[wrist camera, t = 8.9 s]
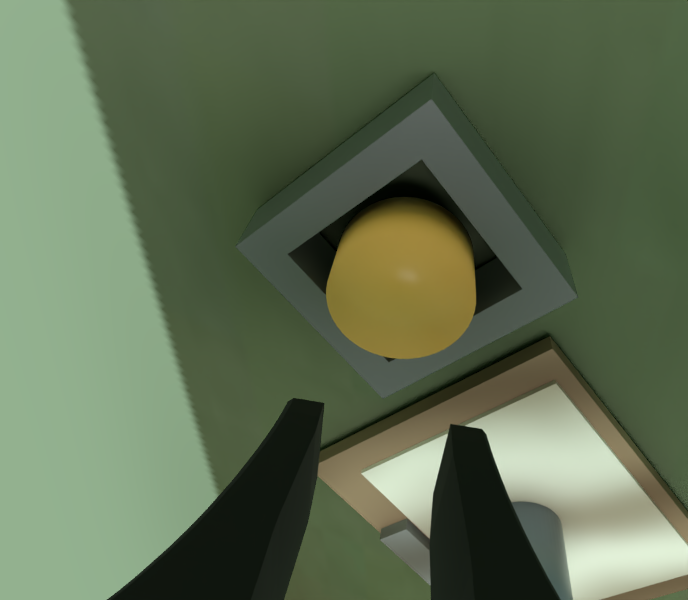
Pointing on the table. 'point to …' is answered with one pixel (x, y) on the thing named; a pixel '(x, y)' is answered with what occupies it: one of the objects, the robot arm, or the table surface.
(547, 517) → the marker
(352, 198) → the button base
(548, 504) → the clipboard
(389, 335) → the button
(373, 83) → the table surface
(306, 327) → the table surface
